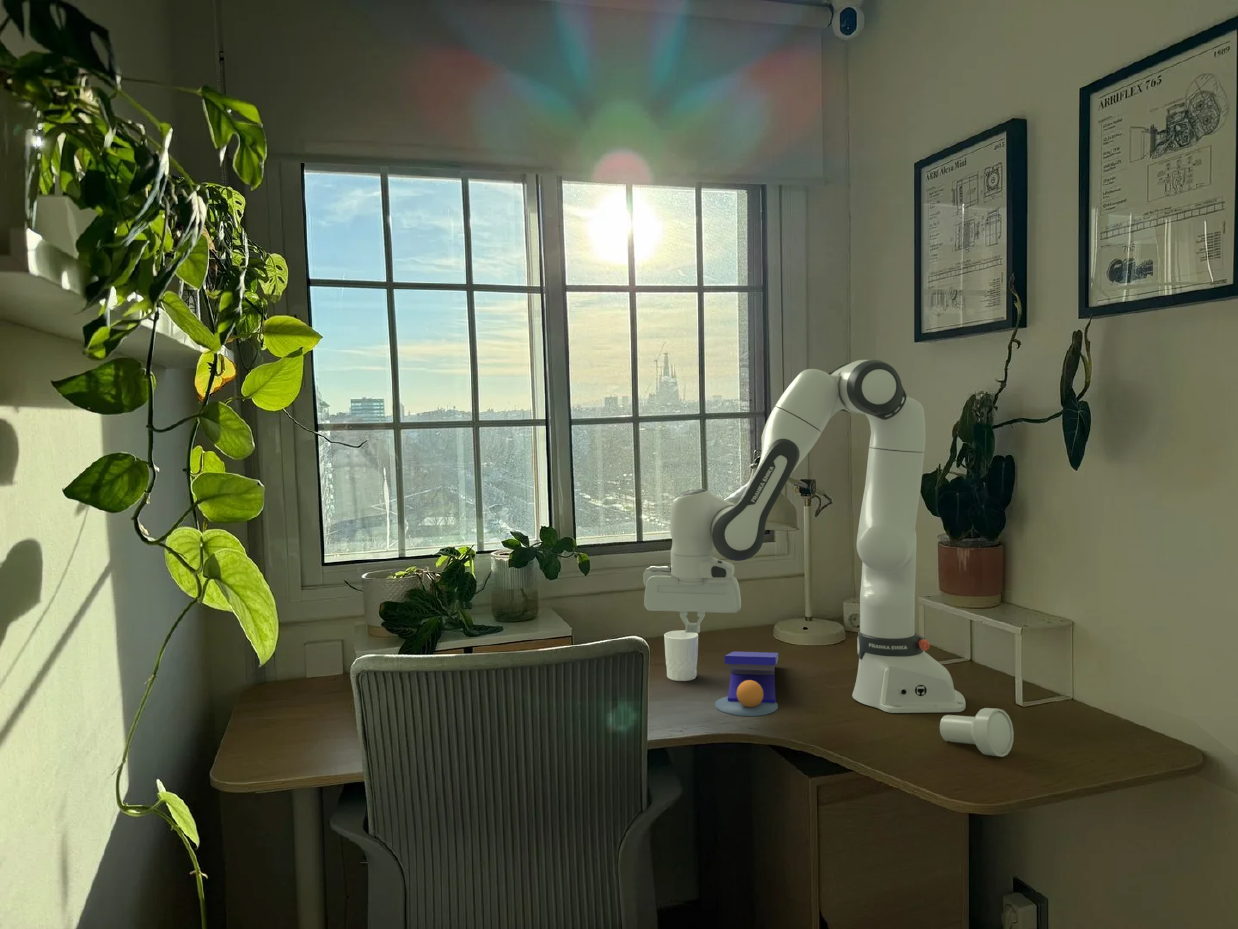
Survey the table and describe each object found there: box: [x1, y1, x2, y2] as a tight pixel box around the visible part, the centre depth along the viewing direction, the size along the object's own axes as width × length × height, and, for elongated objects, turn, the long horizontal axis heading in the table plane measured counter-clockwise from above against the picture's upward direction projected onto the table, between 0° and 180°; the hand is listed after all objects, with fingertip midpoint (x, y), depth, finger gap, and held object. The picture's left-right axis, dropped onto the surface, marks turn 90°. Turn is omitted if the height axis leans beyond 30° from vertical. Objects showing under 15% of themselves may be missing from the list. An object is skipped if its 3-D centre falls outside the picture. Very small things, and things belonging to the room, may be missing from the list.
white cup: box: [663, 630, 699, 682], centre depth 202 cm, size 8×8×10 cm
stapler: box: [724, 651, 779, 703], centre depth 196 cm, size 12×28×10 cm, turn 170°
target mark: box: [714, 695, 779, 717], centre depth 181 cm, size 13×13×1 cm
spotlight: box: [939, 707, 1015, 758], centre depth 156 cm, size 8×11×8 cm
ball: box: [737, 680, 763, 708], centre depth 180 cm, size 6×6×6 cm
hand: (692, 632), depth 182 cm, fingers closed
